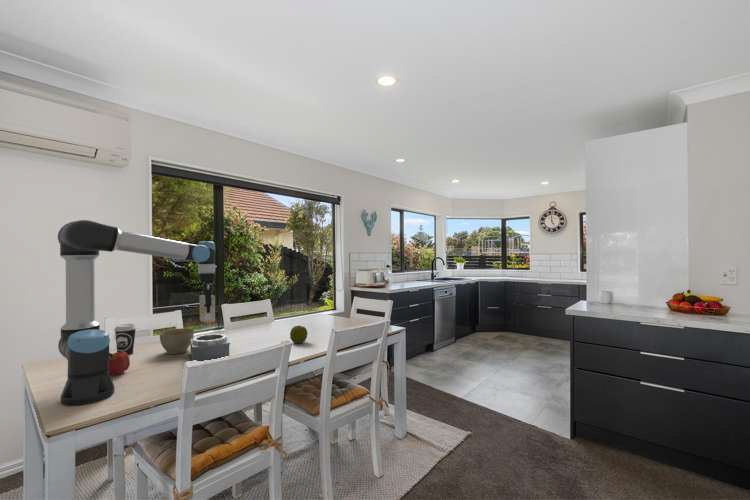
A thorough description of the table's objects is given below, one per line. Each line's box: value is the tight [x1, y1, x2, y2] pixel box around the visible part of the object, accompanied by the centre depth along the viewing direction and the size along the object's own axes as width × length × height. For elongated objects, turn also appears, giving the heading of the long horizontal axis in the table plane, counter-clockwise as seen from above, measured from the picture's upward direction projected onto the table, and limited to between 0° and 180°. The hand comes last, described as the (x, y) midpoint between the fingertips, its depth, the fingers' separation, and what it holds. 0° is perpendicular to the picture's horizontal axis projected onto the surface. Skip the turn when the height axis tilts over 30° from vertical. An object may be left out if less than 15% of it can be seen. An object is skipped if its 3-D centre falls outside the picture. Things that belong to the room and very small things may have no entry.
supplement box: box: [199, 294, 216, 324], centre depth 172 cm, size 8×5×13 cm, turn 46°
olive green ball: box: [289, 325, 309, 344], centre depth 204 cm, size 10×10×11 cm
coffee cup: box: [113, 323, 137, 356], centre depth 179 cm, size 10×10×15 cm
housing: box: [189, 333, 231, 361], centre depth 176 cm, size 21×17×10 cm
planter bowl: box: [158, 327, 195, 355], centre depth 184 cm, size 16×16×11 cm
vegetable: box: [109, 351, 131, 376], centre depth 150 cm, size 11×10×10 cm
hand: (207, 317), depth 172 cm, fingers closed on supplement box, 9 cm apart
